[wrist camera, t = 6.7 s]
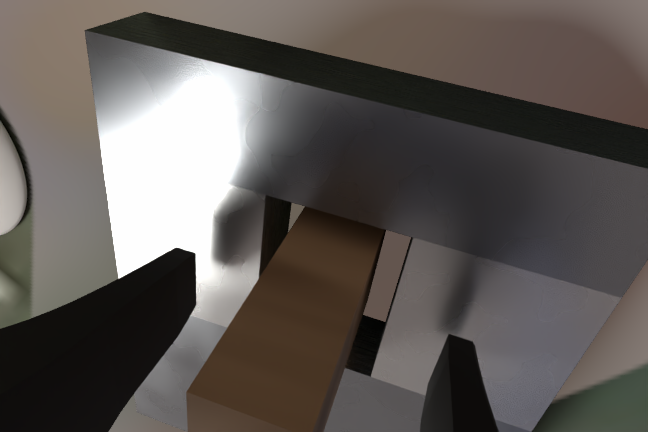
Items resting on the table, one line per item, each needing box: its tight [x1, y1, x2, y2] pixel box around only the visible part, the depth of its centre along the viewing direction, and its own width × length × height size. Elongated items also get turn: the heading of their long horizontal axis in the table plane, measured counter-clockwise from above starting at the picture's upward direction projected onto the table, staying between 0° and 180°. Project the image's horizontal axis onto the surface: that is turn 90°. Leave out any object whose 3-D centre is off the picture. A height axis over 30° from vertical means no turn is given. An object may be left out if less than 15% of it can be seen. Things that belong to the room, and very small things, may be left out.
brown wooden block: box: [186, 206, 386, 432], centre depth 13 cm, size 4×2×8 cm, turn 172°
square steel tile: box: [85, 12, 648, 432], centre depth 16 cm, size 16×14×2 cm
